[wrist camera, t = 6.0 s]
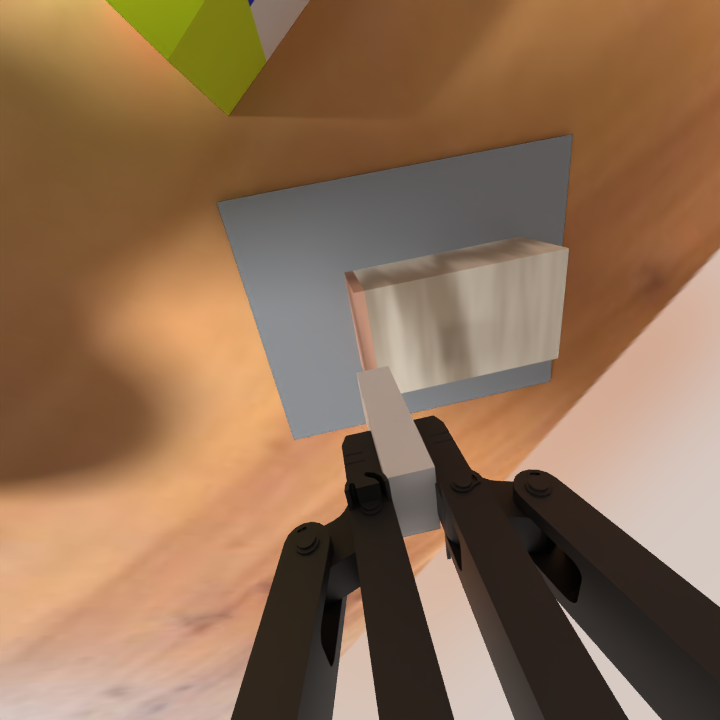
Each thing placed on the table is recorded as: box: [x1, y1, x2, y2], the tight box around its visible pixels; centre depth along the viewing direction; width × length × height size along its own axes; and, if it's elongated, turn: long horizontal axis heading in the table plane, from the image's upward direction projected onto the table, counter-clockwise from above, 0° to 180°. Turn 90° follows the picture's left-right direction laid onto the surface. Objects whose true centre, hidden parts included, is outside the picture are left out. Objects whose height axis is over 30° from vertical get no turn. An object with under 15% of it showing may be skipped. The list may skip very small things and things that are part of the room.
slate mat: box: [217, 134, 573, 440], centre depth 26 cm, size 22×18×1 cm
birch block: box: [344, 236, 569, 393], centre depth 23 cm, size 5×7×12 cm
